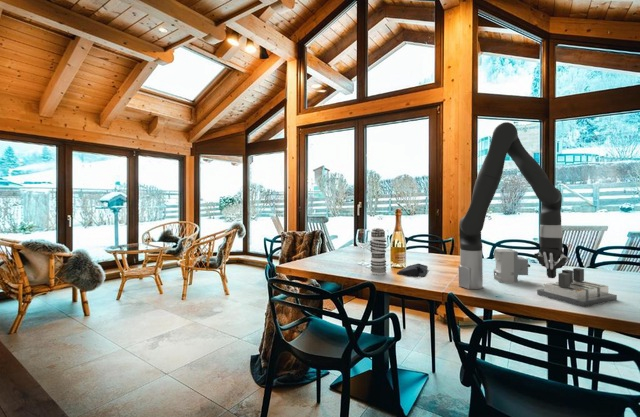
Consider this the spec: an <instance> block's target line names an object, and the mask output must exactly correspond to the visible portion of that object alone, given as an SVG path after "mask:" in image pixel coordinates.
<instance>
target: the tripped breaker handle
mask: <svg viewBox="0 0 640 417" xmlns="http://www.w3.org/2000/svg"><path fill="white" fill-rule="evenodd" d="M557 276H558V281H557V282H558V286H561V287H570V274H568V273H562V272H559V273H558V275H557Z"/></svg>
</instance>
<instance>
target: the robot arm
mask: <svg viewBox="0 0 640 417" xmlns="http://www.w3.org/2000/svg"><path fill="white" fill-rule="evenodd" d="M507 156H509V157H510V158H511V160H512V161H513V162H514V164H515V166H516V167H517V169H518V170H519V172H520V173H521V175H522V176H523V178H524V179H525V180H526V182H527V183H528V184H529V185H530V186H531V189H532V190H533V192H534V194H535V196H536V197H537V199H538V200H539V202H541V211H540V214H539V247H540V249H539V251H538V252H536V253H534V257H535V258H536V259H537V262H538V263H539V264H540V266H542V267H544V268H546V276H547V278H549V279H555V278H556V277H557V269H562V268H563V266H564V265H565V264H566V263H567V262H569V260H570V257H569V256H566V255H565V254H564V251H563V228H562V213H561V212H562V204H563V203H562V201H563V199H562V198H563V195H562V192H561V190H560V189H558V188H557V187H555V186H554V185H553V183H552V182H551V181H550V179H549V177H548V175H547V173H546V172H545V170H544V168H542V167H541V165H540V164H539V163H538V161H537V160H536V159H535V158H534V157H533V156H532V155H531V154H530V153H529V152H528V150H527V149H525V146H524V145H523V144H522V142H521V140H520V137H519V135H518V129H517V127H516V126H515V124H513V123H511V122H508V121H507V122H506V121H505V122H501V123H500V124H498V125H497V126H496V127H495V128H494V130H493V131H492V135H491V140H490V144H489V147H488V151H487V153H486V156H485V158H484V160H483V162H482V164H481V167H480V169H479V171H478V174H477V177H476V179H475V182H474V186H473V191H472V196H471V201H470V203H469V204H470V205H469V206H468V209H467V211H466V213H465V215H464V216H463V217H461V219H460V220H459V226H458V227H459V228H458V229H459V230H458V231H459V236H458V237H459V248H460V250H459V255H460V256H459V258H460V259H459V260H460V261H459V262H460V263H459V265H458V286H459V287H461V288H464V289H467V290H480V289H483V286H484V281H483V278H484V277H483V274H484V272H483V271H484V270H483V242H482V230H483V228H484V225H485V220H486V216H487V212H488V210H489V207H490V205H491V203H492V200H494V199H493V198H494V197H495V195H496V193H497V189H498V187H499V185H500V182H501V180H502V176H503V172H504V168H505V163H506V162H505V161H506V157H507Z"/></svg>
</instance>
